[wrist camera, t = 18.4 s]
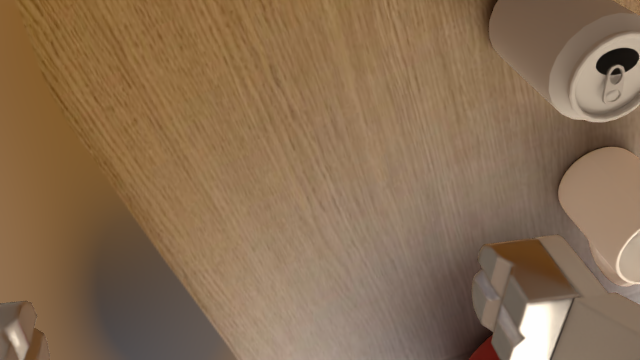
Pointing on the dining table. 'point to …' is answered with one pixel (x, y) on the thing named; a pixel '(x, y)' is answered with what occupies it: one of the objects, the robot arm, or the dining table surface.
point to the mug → (607, 209)
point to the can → (573, 53)
